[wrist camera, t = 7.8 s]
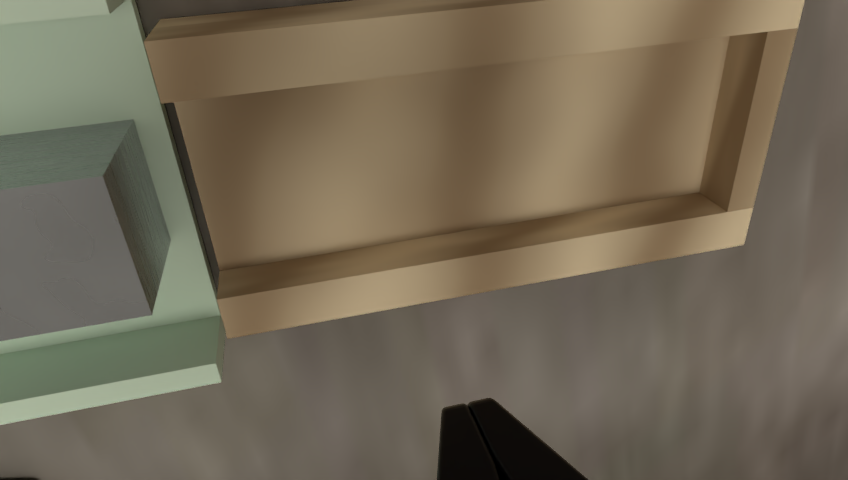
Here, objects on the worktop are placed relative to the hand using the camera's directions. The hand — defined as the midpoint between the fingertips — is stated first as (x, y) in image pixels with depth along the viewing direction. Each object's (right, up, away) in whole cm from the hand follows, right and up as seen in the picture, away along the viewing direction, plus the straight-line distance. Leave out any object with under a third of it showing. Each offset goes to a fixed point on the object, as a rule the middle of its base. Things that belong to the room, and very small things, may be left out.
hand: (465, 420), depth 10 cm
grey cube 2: (-11, +4, +8) cm, 14 cm away
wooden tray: (+1, +7, +11) cm, 13 cm away
